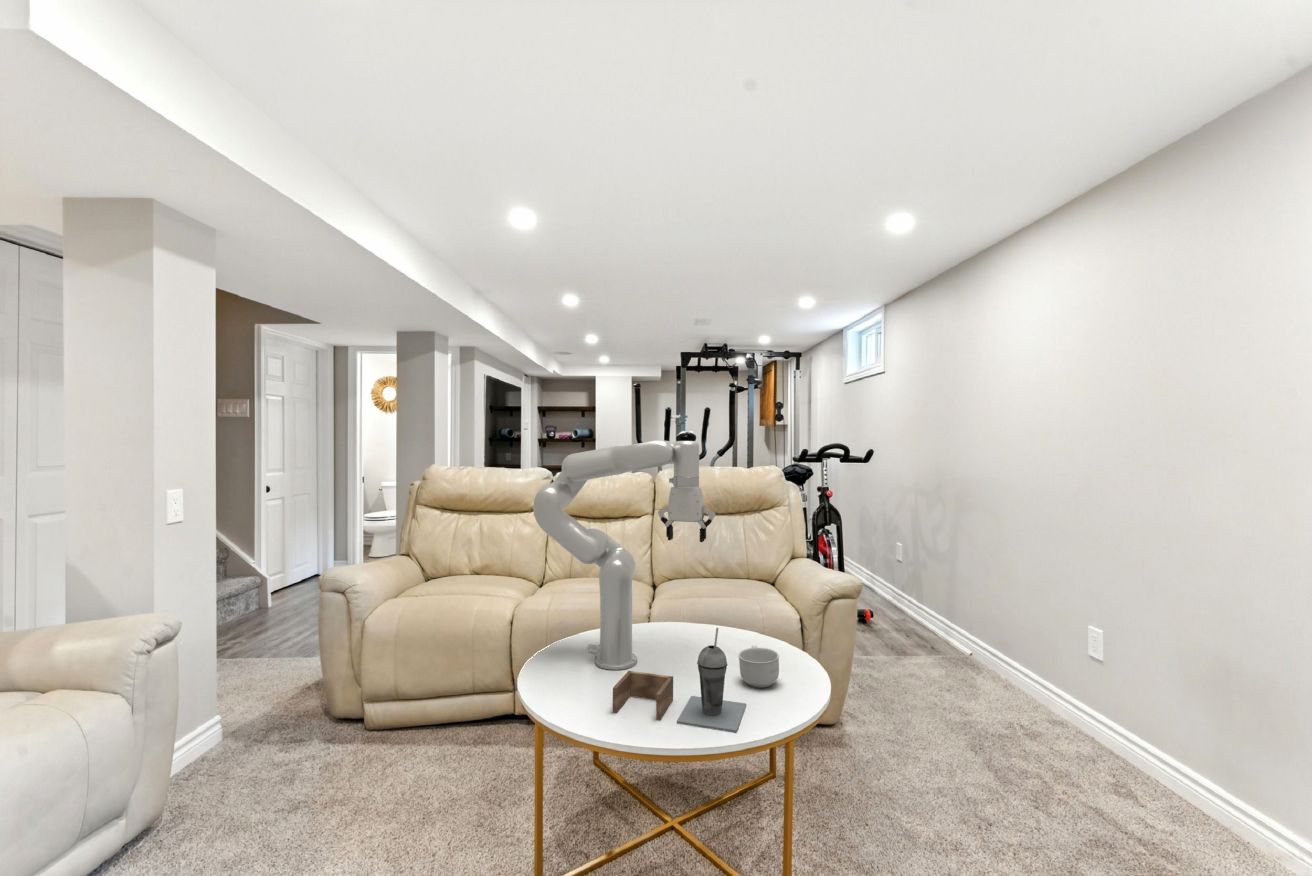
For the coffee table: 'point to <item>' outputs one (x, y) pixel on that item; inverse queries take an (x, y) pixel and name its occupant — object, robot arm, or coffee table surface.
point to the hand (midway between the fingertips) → (686, 540)
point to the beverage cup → (712, 678)
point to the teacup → (759, 666)
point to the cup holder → (644, 690)
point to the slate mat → (724, 721)
